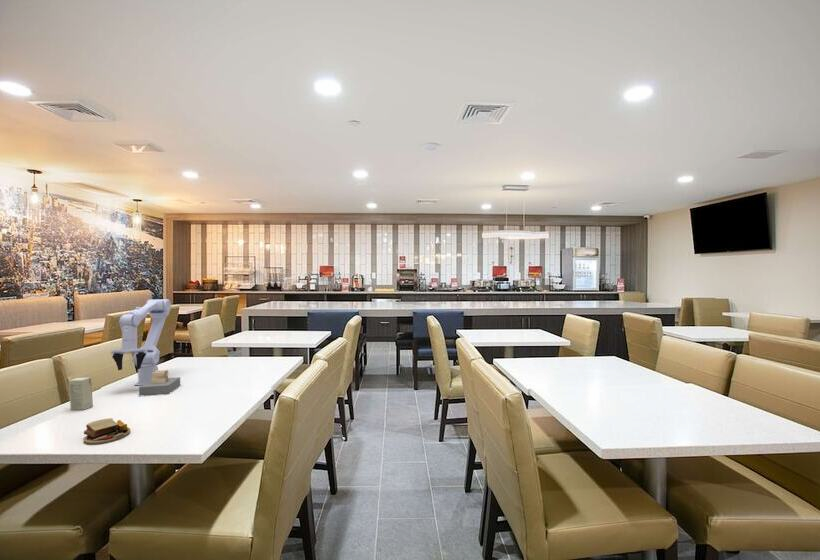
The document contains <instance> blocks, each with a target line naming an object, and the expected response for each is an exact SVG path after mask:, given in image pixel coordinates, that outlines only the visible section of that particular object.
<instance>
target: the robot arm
mask: <svg viewBox="0 0 820 560" xmlns="http://www.w3.org/2000/svg"><path fill="white" fill-rule="evenodd" d="M171 308H172V303H171V300H170V299H169V298H162V299H157V298H156V299H152V298H150V299H148V300H146V303H145V304H144V305H143V306H142V307H141V306H136V307H135V309H133V310H131V311H130V312H129V313H127V314H125V313H124V314H123V315H121V316H120V318H119V319H118V324H119V326H120V331H121V349H111V350H110V355H112V356H111V357H112V359H113V361H114V363H115V365H116V366H117V370H118V371H121V370H123V358H124V355H125V354H126V355H127V354H128V355H129V354H134V355H133V357H132V362H133V364H134V365H135V367H136V370H137V380H138V381H137V382H136V383H135V384H134V386H135V385H138V386H142V385H144V384H145V383H147V382H149V381H150V380H152V373H153V372H155V371H156V370H159V368H158V365H157V364H158V363H159V361H160V354H161V351H160V350H159V349H158V347H157V346H158V342H159V339H160V336H161V333H162V331H163V328H164V325H165V322H166V318H167V317H169V315H170V311H171ZM148 315H149V316H150V318H153V320H152V322H151V323H152V324H151V325H150V329H149V330H148V333H147V337H146V339H145V342H144V345H142V346H141V347H139V348H138V326H139V325H140V324H141V321H142V320H144V319H146V318H147V316H148Z"/></svg>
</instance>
